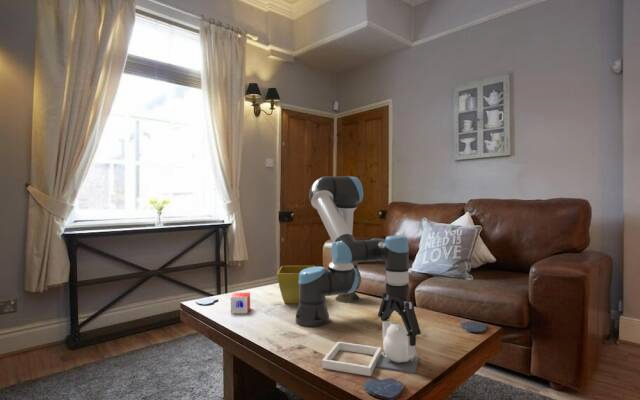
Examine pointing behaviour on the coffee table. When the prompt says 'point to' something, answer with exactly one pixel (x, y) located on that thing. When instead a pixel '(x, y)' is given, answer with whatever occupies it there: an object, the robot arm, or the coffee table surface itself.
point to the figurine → (396, 343)
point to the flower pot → (290, 282)
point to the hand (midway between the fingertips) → (398, 346)
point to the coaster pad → (398, 364)
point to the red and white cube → (240, 303)
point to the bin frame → (350, 367)
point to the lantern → (352, 296)
